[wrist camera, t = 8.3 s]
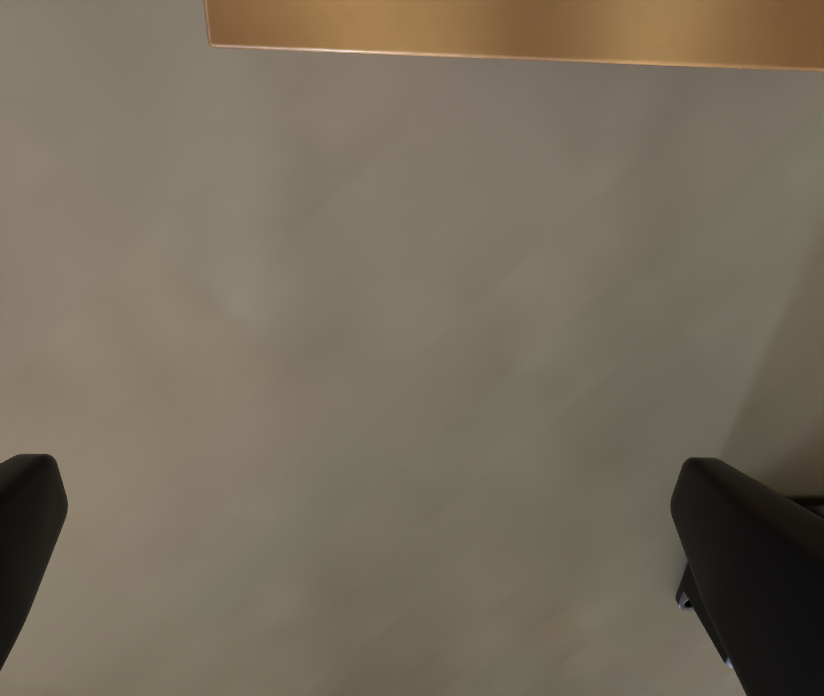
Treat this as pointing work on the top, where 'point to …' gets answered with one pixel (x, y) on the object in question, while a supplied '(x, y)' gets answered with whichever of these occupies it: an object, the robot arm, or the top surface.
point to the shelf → (536, 30)
